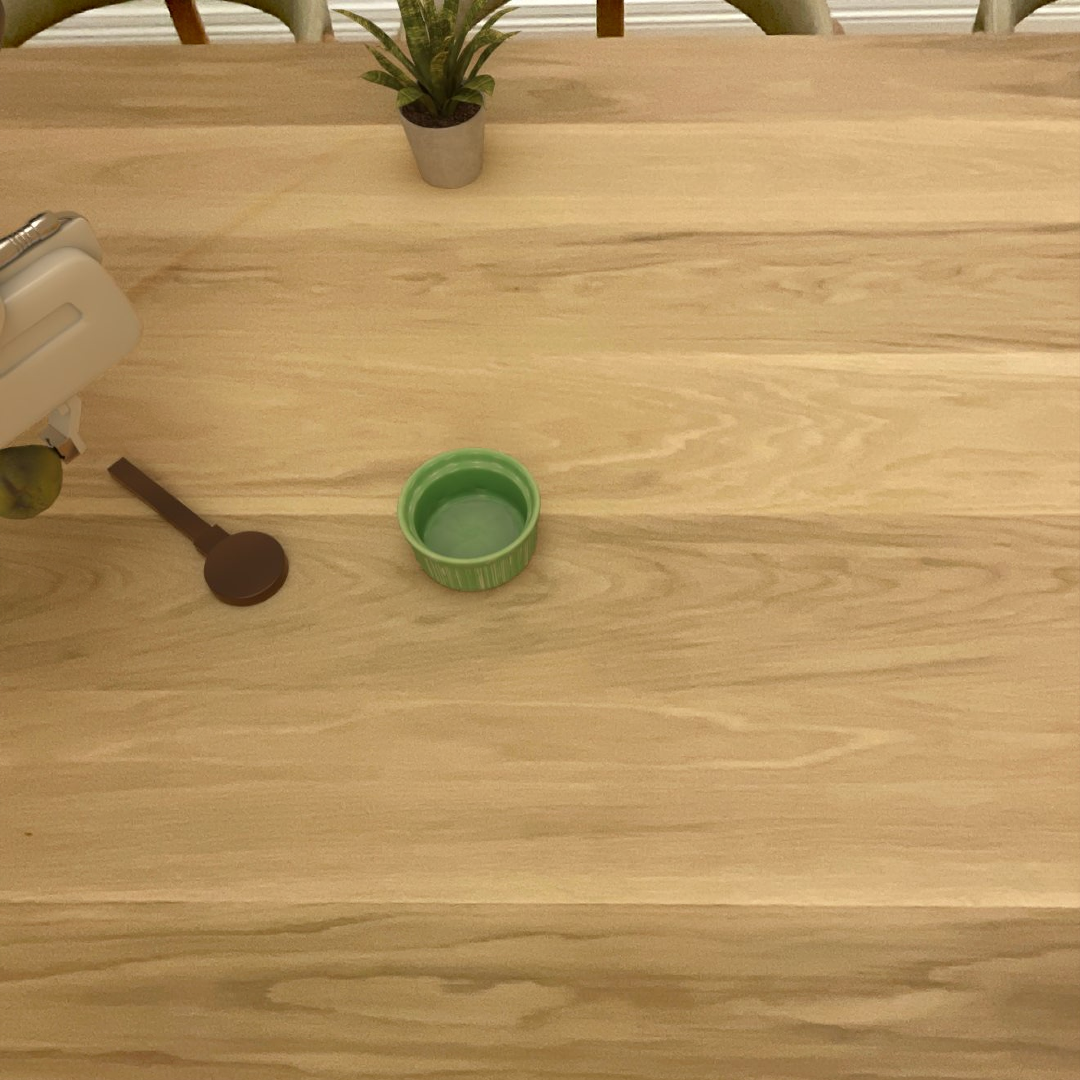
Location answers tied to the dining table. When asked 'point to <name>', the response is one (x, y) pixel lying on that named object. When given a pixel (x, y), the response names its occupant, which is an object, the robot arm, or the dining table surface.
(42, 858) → the dining table surface
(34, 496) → the lime
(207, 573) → the spoon
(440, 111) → the house plant
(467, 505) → the ramekin
